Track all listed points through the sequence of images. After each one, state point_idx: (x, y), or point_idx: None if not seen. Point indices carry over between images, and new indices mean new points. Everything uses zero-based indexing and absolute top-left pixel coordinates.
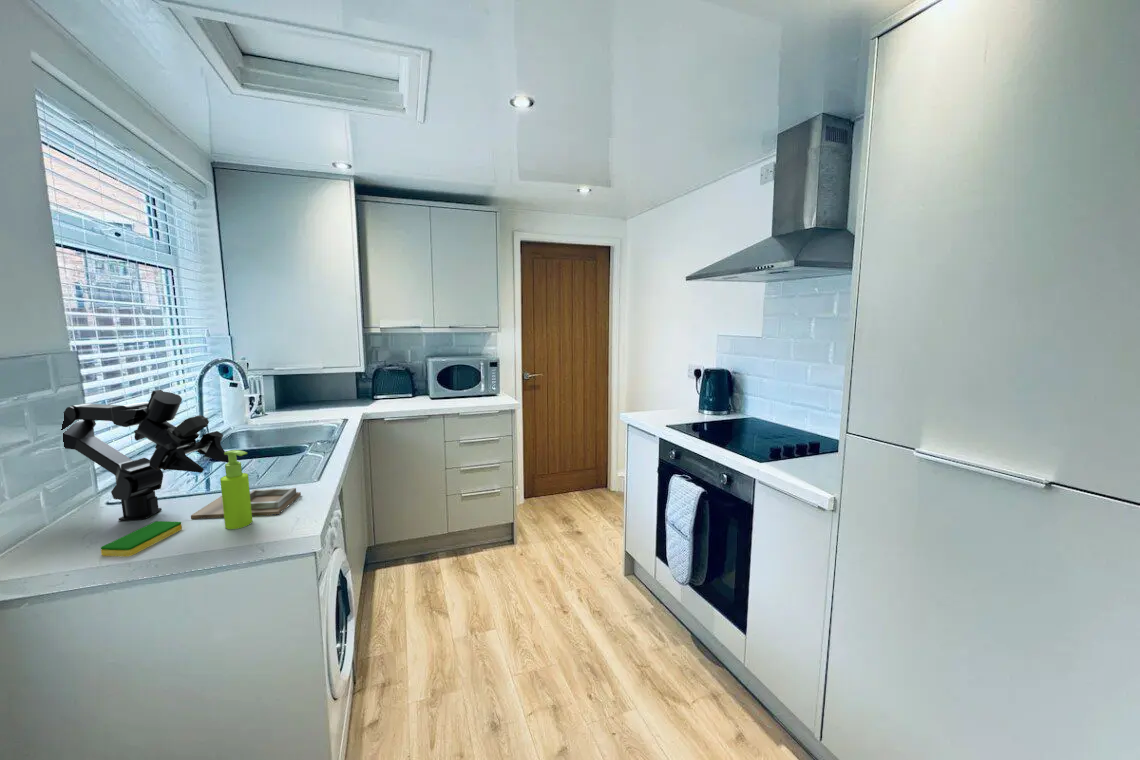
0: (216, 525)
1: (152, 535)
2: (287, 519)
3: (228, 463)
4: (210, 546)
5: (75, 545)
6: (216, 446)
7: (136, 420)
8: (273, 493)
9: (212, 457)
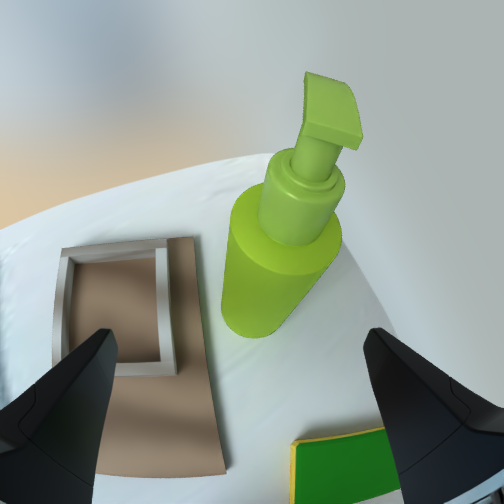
0: (264, 365)
1: (380, 434)
2: (221, 210)
3: (333, 177)
4: (362, 291)
5: None
6: (26, 443)
7: None
8: (68, 309)
9: (91, 471)
